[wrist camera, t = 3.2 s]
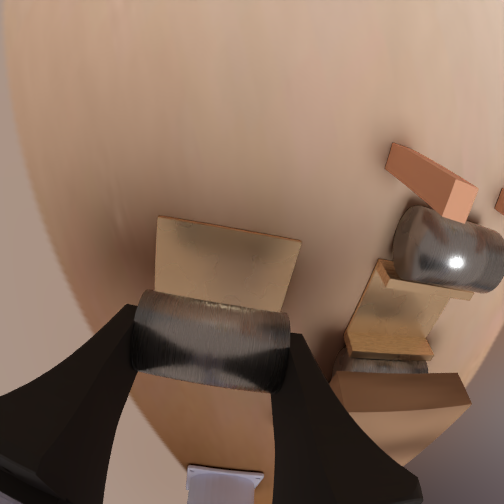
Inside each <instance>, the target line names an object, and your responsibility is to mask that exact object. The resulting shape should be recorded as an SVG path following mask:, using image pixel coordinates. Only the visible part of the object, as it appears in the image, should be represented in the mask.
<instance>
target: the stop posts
mask: <svg viewBox="0 0 504 504" xmlns="http://www.w3.org/2000/svg"><path fill="white" fill-rule="evenodd" d="M385 169H386V170H387V171H389V172H390V173H391V174H392V175H394V176H395V177H396V178H397V179H399V180H400V181H401V182H402V183H404V184H405V185H406V186H407V187H408V188H410V189H411V190H412V191H413V192H414V193H416V194H417V195H418V196H419V197H420V198H421V199H423V200H424V201H425V202H426V203H427V204H428V205H430V206H431V207H432V208H433V209H434V210H435V211H436V212H437V213H439V214H440V215H441V216H442V217H445V218H448V219H451V220H454V221H457V222H461V223H464V224H465V222H466V220H467V217H468V215H469V212H470V210H471V207H472V205H473V202H474V200H475V197H476V194H477V192H478V188H477V187H475V186H474V185H472V184H471V183H469V182H468V181H466V180H464V179H463V178H461V177H460V176H458V175H456V174H455V173H453V172H451V171H450V170H448V169H446V168H445V167H443V166H441V165H440V164H438V163H436V162H434V161H433V160H431V159H429V158H427V157H425V156H424V155H422V154H420V153H418V152H416V151H414V150H412V149H410V148H407V147H404V146H401V145H399V144H396V143H392V147H391V150H390V153H389V157H388V160H387V163H386V166H385ZM495 209H496V210H497V211H499V212H500V213H501V214H503V215H504V189H503V188H502V190H501V193H500V196H499V199H498V201H497V204H496V206H495Z"/></svg>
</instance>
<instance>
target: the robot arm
mask: <svg viewBox="0 0 504 504" xmlns="http://www.w3.org/2000/svg"><path fill="white" fill-rule="evenodd" d="M137 307H138V306H135V305H130V304H126V305H125V306H124V307H123V308H122V309H121V310H120V311H119V312H118V313H117V314H116V315H115V316H114V317H113V318H112V319H111V320H110V321H109V322H108V323H107V324H106V325H105V326H104V327H102V328H101V329H100V330H99V331H98V332H97V333H96V334H95V335H94V336H93V337H92V338H90V339H89V340H88V341H87V342H86V343H85V344H84V345H82V346H81V347H80V348H79V349H77V350H76V351H75V352H74V353H73V354H72V355H70V356H69V357H68V358H66V359H65V360H64V361H62V362H61V363H59V364H58V365H57V366H55V367H54V368H52V369H51V370H49V371H48V372H46V373H44V374H43V375H41V376H40V377H38V378H36V379H35V380H33V381H31V382H30V383H28V384H26V385H24V386H22V387H19V388H18V389H15V390H13V391H11V392H9V393H8V394H5V395H3V396H0V504H103V497H104V489H105V483H106V476H107V470H108V464H109V459H110V455H111V449H112V445H113V441H114V437H115V432H116V428H117V425H118V421H119V418H120V415H121V413H122V410H123V408H124V405H125V402H126V400H127V397H128V395H129V392H130V390H131V387H132V385H133V382H134V380H135V377H136V374H137V372H138V371H135V370H133V369H132V367H131V362H130V340H131V332H132V328H133V324H134V317H135V313H136V310H137ZM271 402H272V415H273V427H274V439H275V471H274V488H273V501H272V504H421V503H422V502H423V496H422V491H421V487H420V483H419V480H418V477H416V476H415V475H413V474H412V473H411V472H409V471H408V470H407V469H405V468H404V467H403V466H401V465H400V464H398V463H397V462H396V461H395V460H393V459H392V458H391V457H390V456H389V455H388V454H386V453H385V452H384V451H383V450H382V449H381V448H380V447H379V446H378V445H377V444H376V443H375V442H374V441H373V440H372V439H371V438H370V437H369V436H368V435H367V434H366V433H365V432H364V431H363V430H362V429H361V428H360V426H359V425H358V424H357V423H356V422H355V421H354V419H353V418H352V417H351V415H350V414H349V413H348V412H347V410H346V409H345V408H344V406H343V405H342V403H341V402H340V400H339V399H338V398H337V396H336V395H335V393H334V392H333V390H332V388H331V387H330V385H329V383H328V382H327V380H326V378H325V377H324V375H323V373H322V372H321V370H320V368H319V366H318V364H317V362H316V361H315V359H314V357H313V355H312V353H311V351H310V349H309V347H308V345H307V343H306V341H305V339H304V337H303V335H302V334H297V333H290V347H289V357H288V363H287V368H286V372H285V376H284V379H283V382H282V385H281V387H280V389H279V391H278V392H277V393H276V394H271ZM263 478H264V474H263V473H255V472H243V471H232V470H223V469H215V468H208V467H201V466H195V465H189V466H188V470H187V483H186V489H187V490H189V493H188V501H187V504H254V489H255V488H256V487H257V485H258V484H259V483H260V481H261V480H262V479H263Z"/></svg>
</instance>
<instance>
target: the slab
mask: <svg viewBox="0 0 504 504" xmlns="http://www.w3.org/2000/svg"><path fill="white" fill-rule="evenodd" d="M329 385H330V387H331V388H332V390H333V392H334V393H335V395H336V396H337V398H338V399H339V400H340V402H341V403H342V405H343V406H344V408H345V409H346V410H347V412H348V413H349V414H350V415H351V417H352V418H353V419H354V421H355V422H356V423H357V424H358V425H359V426H360V428H361V429H362V430H363V431H364V432H365V433H366V434H367V435H368V436H369V437H370V438H371V439H372V440H373V441H374V442H375V443H376V444H377V445H378V446H379V447H380V448H381V449H382V450H383V451H384V452H385V453H386V454H388V455H389V456H390V457H391V458H392V459H393V460H395V461H396V462H397V463H398V464H400V465H401V466H404V465H405V464H406V463H408V462H409V461H410V460H411V459H413V458H414V457H415V456H416V455H417V454H419V453H420V452H421V451H422V450H424V449H425V448H426V447H427V446H428V445H430V444H431V443H432V442H433V441H434V440H435V439H436V438H438V437H439V436H440V435H441V434H442V433H443V432H444V431H445V430H446V429H447V428H448V427H450V426H451V425H452V423H454V422H455V421H456V420H457V419H458V418H459V417H460V416H461V415H462V414H463V413H464V412H465V411H466V410H467V409H468V408H469V407H470V406H471V405H472V403H471V401H470V398H469V396H468V394H467V392H466V390H465V387H464V385H463V383H462V381H461V379H460V377H459V375H458V373H423V374H410V373H368V372H349V371H336V373H335V375H334V376H333V378H332V380H331V382H330V383H329Z"/></svg>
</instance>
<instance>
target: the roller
mask: <svg viewBox="0 0 504 504" xmlns="http://www.w3.org/2000/svg"><path fill="white" fill-rule="evenodd" d="M289 347H290V321H289V317H288V315H287V314H286V313H281V312H274V311H268V310H261V309H255V308H248V307H242V306H236V305H230V304H224V303H218V302H212V301H207V300H201V299H195V298H190V297H185V296H179V295H174V294H169V293H163V292H158V291H153V290H146V291H145V292H144V293H143V295H142V297H141V299H140V301H139V304H138V307H137V310H136V313H135V317H134V324H133V328H132V332H131V340H130V362H131V367H132V369H133V370H135V371H139V372H143V373H148V374H152V375H157V376H161V377H166V378H171V379H176V380H181V381H187V382H192V383H198V384H204V385H210V386H216V387H223V388H230V389H237V390H244V391H253V392H261V393H271V394H276V393H277V392H278V391H279V389H280V387H281V385H282V382H283V379H284V376H285V372H286V368H287V363H288V357H289Z"/></svg>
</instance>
